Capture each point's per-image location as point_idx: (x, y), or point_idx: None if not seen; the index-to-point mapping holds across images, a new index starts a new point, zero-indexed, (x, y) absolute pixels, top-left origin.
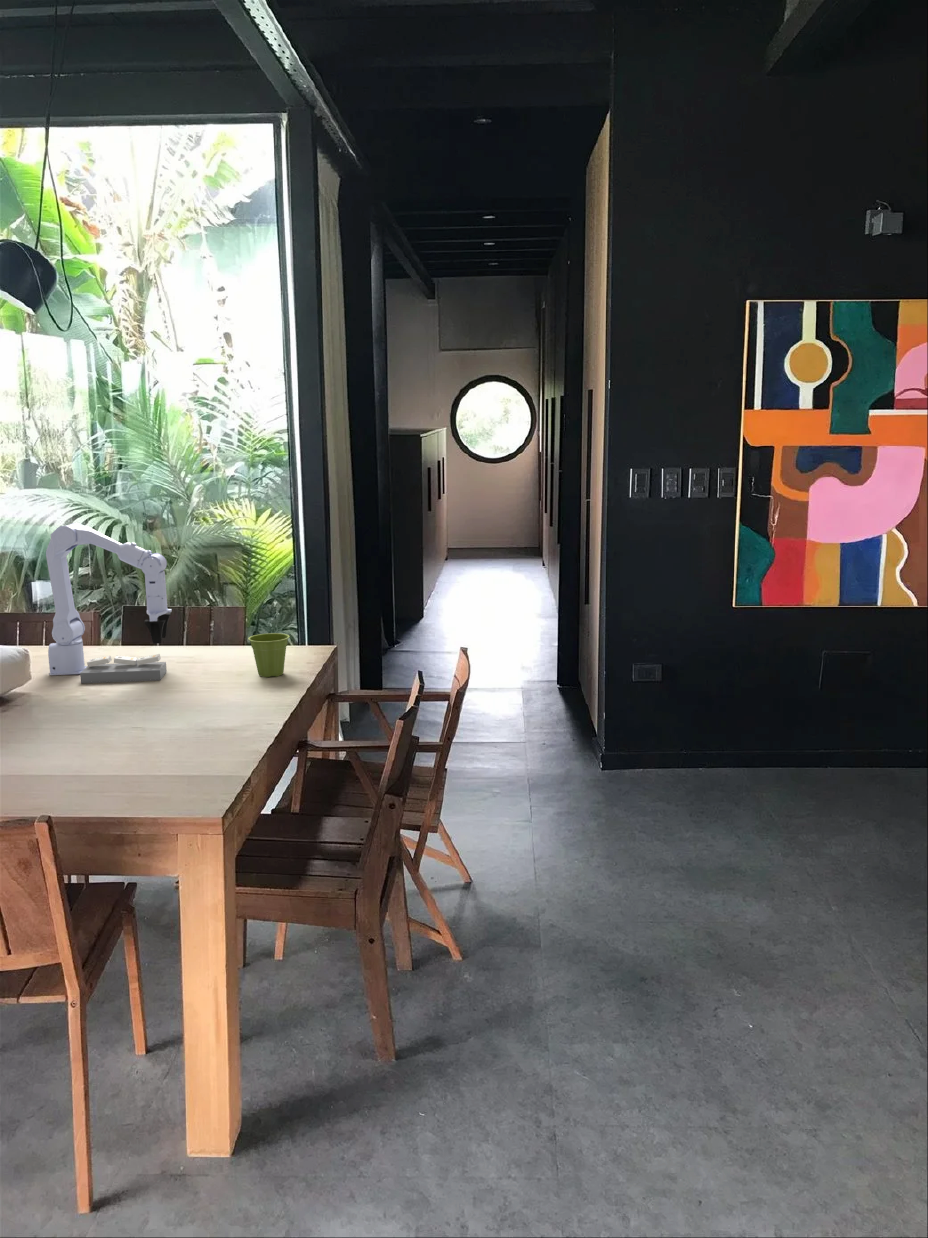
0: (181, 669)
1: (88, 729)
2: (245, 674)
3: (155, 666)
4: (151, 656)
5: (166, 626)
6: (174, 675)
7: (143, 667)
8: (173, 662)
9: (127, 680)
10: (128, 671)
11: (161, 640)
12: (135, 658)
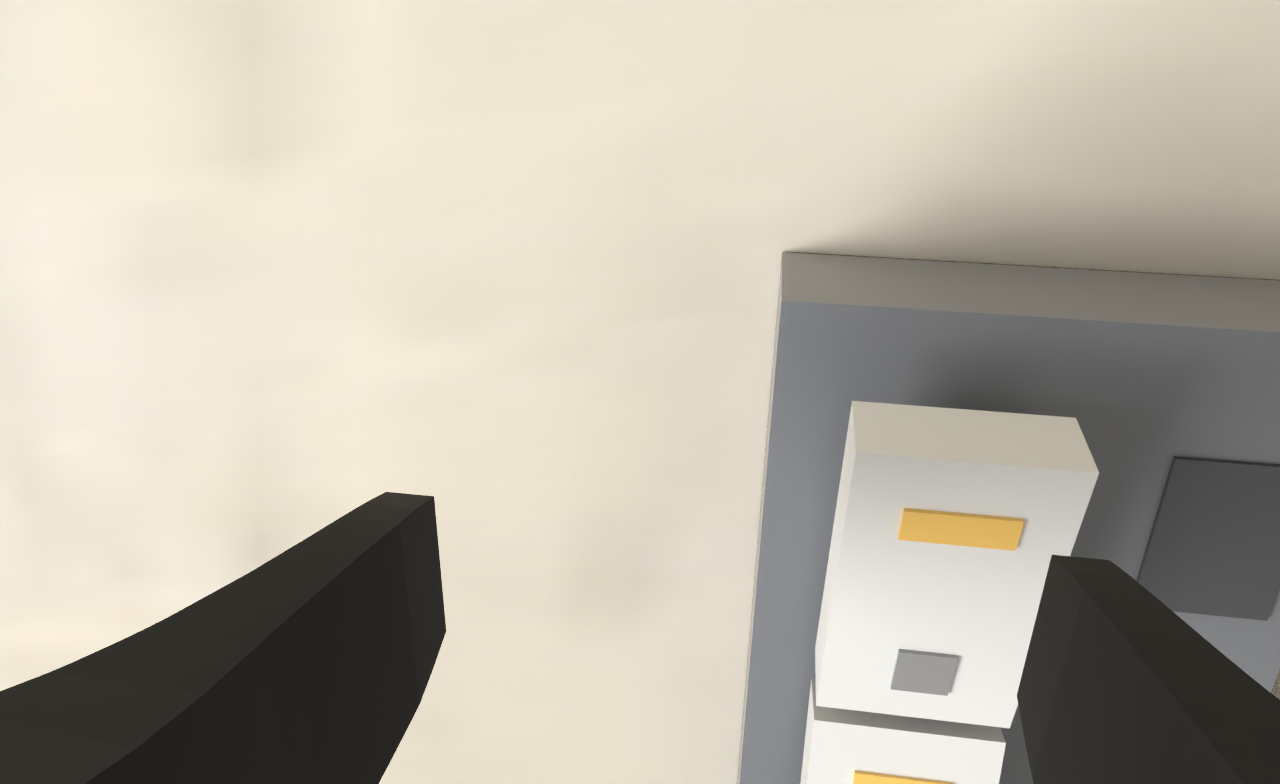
0: (688, 39)
1: None
2: None
3: (1085, 431)
4: (931, 564)
5: (261, 645)
6: (1064, 104)
7: None
8: (257, 214)
9: None
10: None
11: (1082, 580)
12: (870, 749)
